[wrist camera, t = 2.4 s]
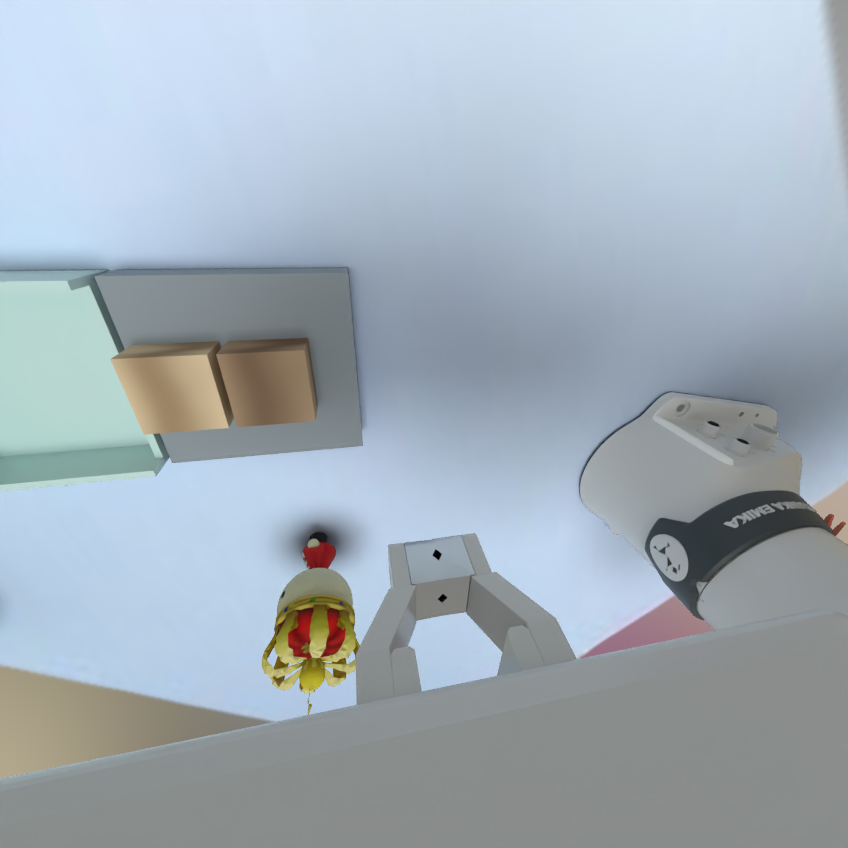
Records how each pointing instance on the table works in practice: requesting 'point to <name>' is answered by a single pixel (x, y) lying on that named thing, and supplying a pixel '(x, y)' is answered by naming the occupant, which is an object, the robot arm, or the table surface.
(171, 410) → the tile
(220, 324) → the board
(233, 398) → the tile
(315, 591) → the toy
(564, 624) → the table surface
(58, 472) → the bin
